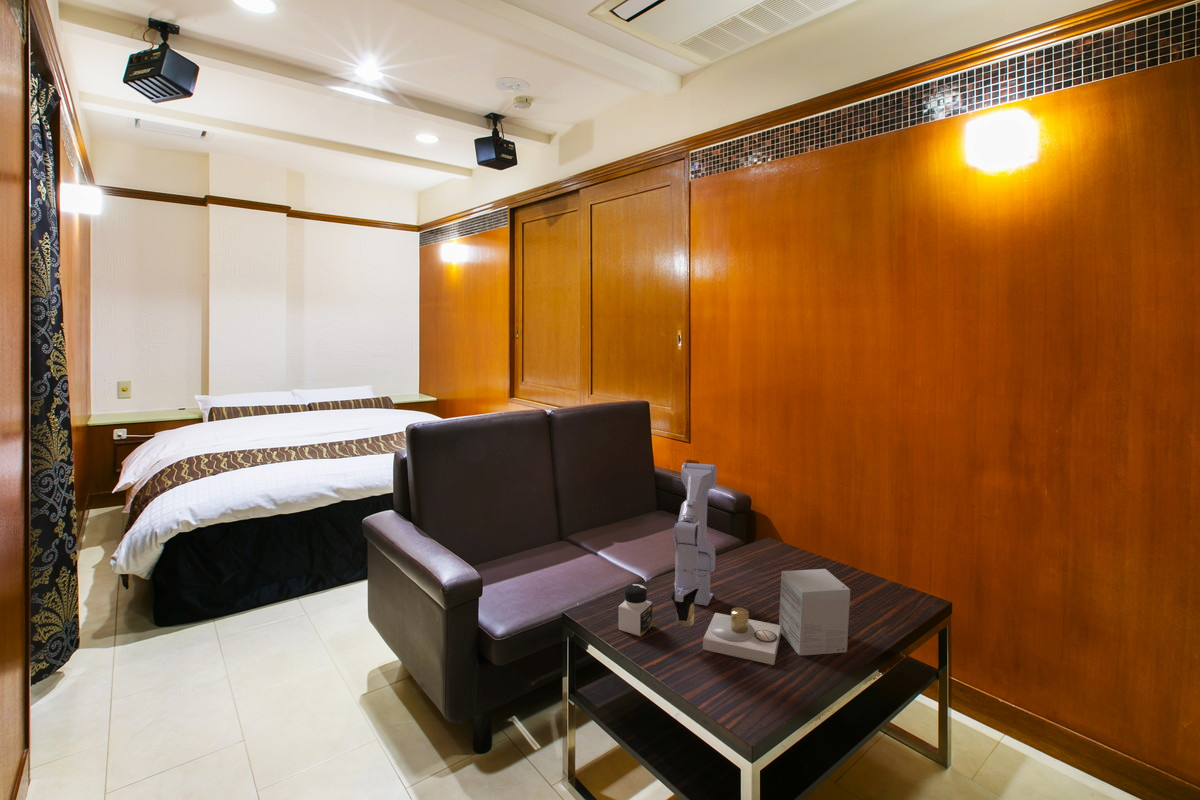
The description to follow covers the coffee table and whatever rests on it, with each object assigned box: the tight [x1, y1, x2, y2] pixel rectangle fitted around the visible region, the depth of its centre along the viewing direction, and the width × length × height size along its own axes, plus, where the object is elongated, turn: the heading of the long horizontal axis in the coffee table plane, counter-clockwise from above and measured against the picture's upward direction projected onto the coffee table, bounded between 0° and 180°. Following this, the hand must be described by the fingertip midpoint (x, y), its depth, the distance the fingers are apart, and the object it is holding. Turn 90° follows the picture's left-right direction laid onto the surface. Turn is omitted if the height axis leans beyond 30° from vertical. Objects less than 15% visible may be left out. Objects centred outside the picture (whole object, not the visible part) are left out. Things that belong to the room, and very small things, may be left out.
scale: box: [702, 612, 782, 666], centre depth 156 cm, size 18×15×4 cm
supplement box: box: [778, 568, 851, 657], centre depth 156 cm, size 13×13×18 cm
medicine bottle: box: [618, 583, 653, 637], centre depth 163 cm, size 7×7×12 cm
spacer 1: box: [676, 602, 695, 627], centre depth 155 cm, size 4×4×5 cm
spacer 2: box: [730, 606, 750, 634], centre depth 156 cm, size 4×4×5 cm
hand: (685, 615), depth 155 cm, fingers closed on spacer 1, 4 cm apart
